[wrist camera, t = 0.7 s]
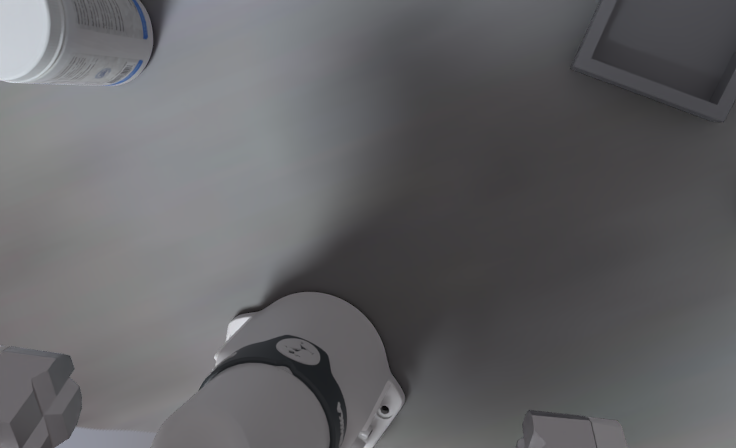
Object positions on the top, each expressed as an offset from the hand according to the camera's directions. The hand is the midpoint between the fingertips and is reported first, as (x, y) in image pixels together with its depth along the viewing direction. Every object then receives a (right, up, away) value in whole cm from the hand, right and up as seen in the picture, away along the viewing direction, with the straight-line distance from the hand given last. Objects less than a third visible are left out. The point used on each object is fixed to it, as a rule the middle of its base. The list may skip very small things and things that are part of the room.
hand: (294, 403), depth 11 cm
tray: (+26, +21, +39) cm, 52 cm away
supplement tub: (-23, +21, +51) cm, 60 cm away
